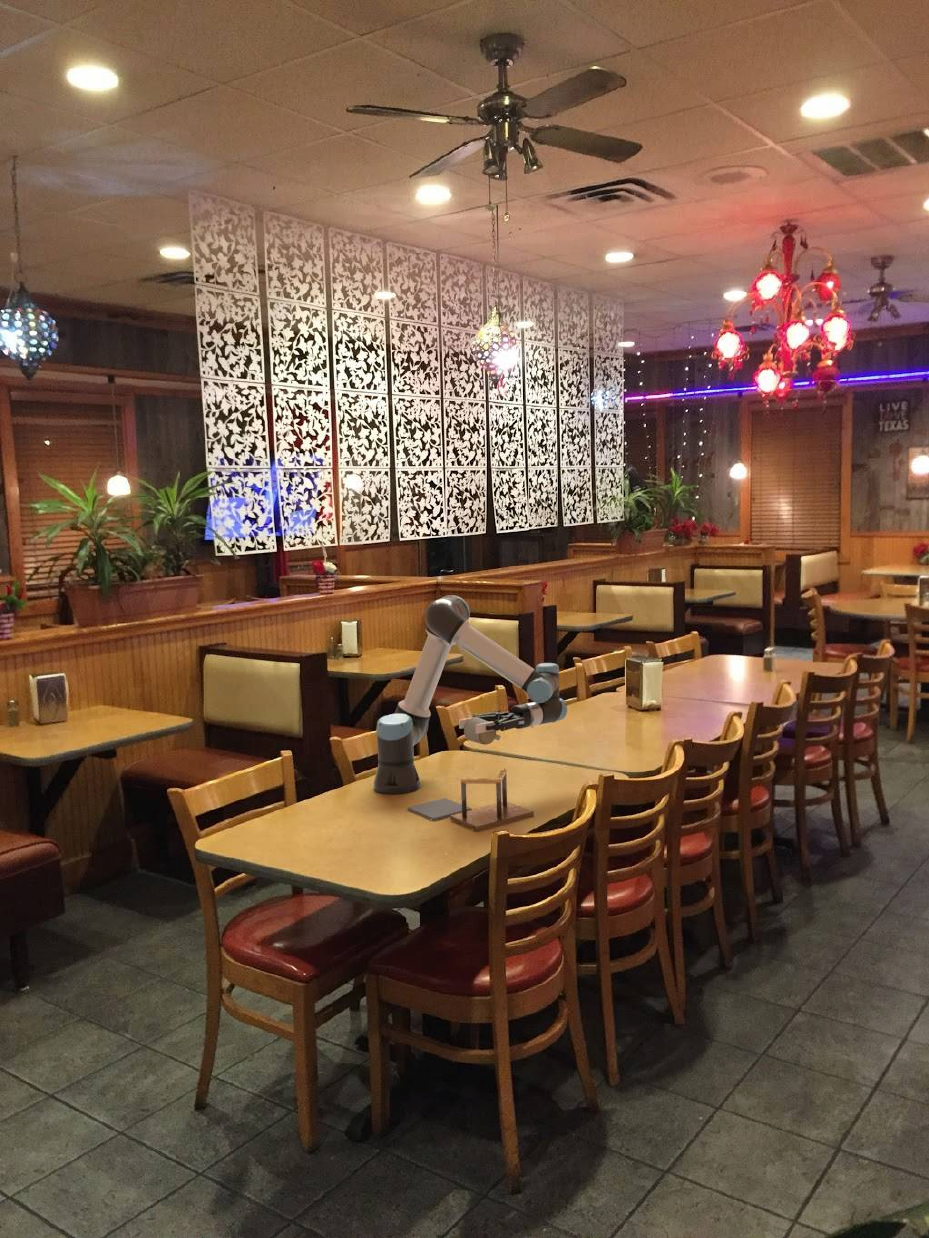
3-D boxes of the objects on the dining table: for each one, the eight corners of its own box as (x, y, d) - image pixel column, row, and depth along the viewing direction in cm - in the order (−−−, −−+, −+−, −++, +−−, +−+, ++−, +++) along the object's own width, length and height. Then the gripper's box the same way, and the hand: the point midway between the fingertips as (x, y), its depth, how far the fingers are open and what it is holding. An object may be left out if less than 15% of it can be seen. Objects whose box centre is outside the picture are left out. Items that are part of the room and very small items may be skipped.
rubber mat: (407, 809, 302) (407, 807, 302) (445, 800, 311) (445, 797, 310) (433, 820, 291) (433, 818, 291) (471, 810, 299) (471, 808, 299)
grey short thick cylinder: (480, 747, 304) (479, 722, 303) (463, 742, 310) (463, 718, 310) (506, 741, 311) (506, 717, 310) (489, 737, 317) (489, 713, 316)
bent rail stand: (450, 820, 291) (448, 777, 289) (506, 805, 303) (505, 764, 302) (476, 831, 281) (475, 787, 279) (533, 816, 293) (533, 773, 291)
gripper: (546, 732, 311) (488, 744, 298) (505, 721, 328) (448, 732, 315) (546, 709, 310) (488, 720, 297) (504, 699, 327) (448, 709, 314)
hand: (468, 726), depth 306 cm, fingers closed on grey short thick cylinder, 8 cm apart
